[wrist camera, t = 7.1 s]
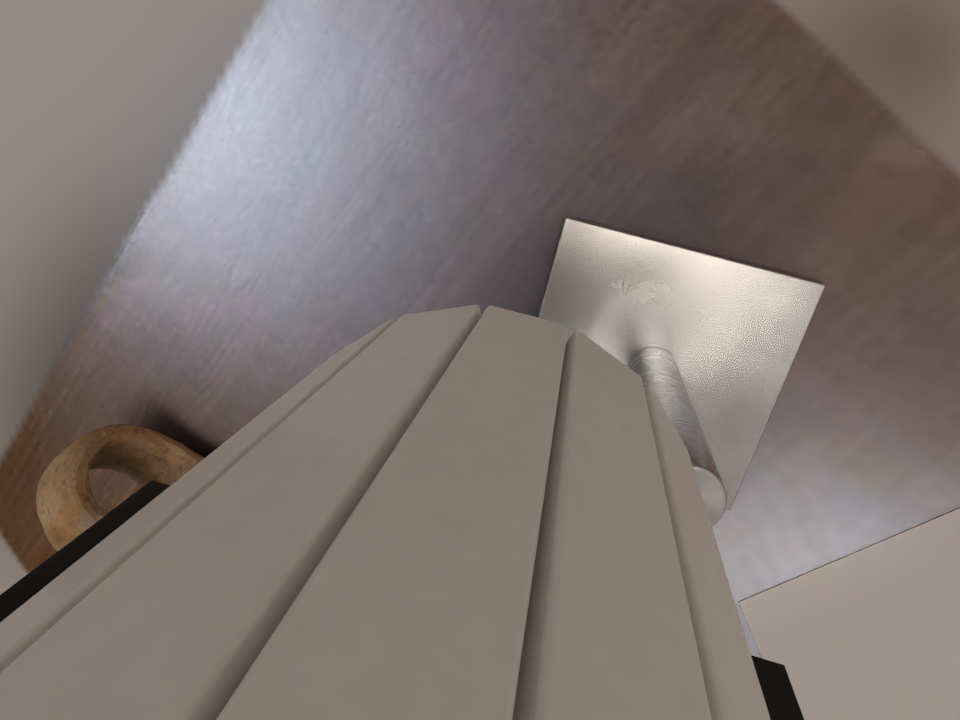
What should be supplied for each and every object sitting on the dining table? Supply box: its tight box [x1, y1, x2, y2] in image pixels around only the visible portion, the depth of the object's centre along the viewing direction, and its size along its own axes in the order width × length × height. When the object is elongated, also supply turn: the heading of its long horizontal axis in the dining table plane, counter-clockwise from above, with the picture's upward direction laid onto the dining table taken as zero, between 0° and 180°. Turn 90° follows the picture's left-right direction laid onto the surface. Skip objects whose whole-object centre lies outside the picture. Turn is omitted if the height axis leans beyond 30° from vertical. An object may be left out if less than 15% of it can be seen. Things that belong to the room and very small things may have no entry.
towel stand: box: [538, 216, 825, 526], centre depth 26 cm, size 12×12×14 cm
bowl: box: [36, 424, 204, 551], centre depth 36 cm, size 18×14×10 cm
